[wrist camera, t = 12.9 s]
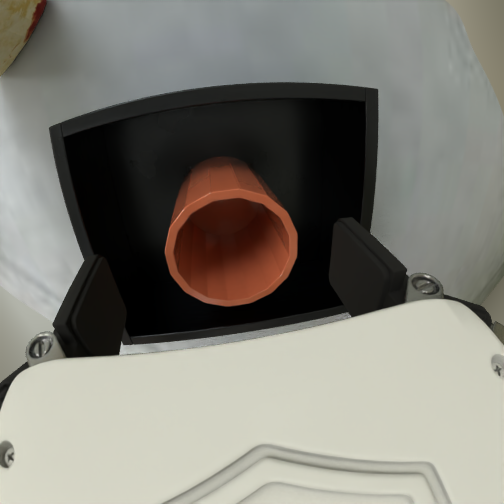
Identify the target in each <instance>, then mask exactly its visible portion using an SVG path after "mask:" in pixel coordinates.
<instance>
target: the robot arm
mask: <svg viewBox="0 0 504 504" xmlns="http://www.w3.org/2000/svg"><path fill="white" fill-rule="evenodd" d="M406 272H407V268H406V267H405V266H404V265H403V264H402V263H401V262H400V261H399V260H398V259H397V258H396V257H395V256H394V255H393V254H391V253H390V252H389V251H388V250H387V249H386V248H385V247H384V246H383V245H382V244H381V243H380V242H379V241H378V240H377V239H376V238H375V237H373V236H372V235H371V234H370V233H369V232H368V231H367V230H366V229H365V228H364V227H362V226H361V225H360V224H359V223H358V222H357V221H356V220H355V219H353V218H352V217H349V218H340V219H338V221H337V222H336V223H334V226H333V238H332V249H331V259H330V269H329V281H330V284H331V286H332V287H333V289H334V290H335V292H336V293H337V295H338V296H339V298H340V300H341V301H342V303H343V304H344V306H345V307H346V309H347V311H348V312H349V314H350V315H351V318H347V319H343V320H339V321H335V322H331V323H327V324H323V325H318V326H314V327H309V328H305V329H300V330H296V331H291V332H286V333H281V334H276V335H271V336H266V337H261V338H255V339H249V340H244V341H238V342H231V343H225V344H218V345H211V346H204V347H197V348H189V349H180V350H171V351H161V352H151V353H140V354H128V355H119V352H120V346H121V341H122V336H123V332H124V327H125V322H126V318H127V310H126V307H125V304H124V302H123V300H122V297H121V295H120V293H119V290H118V288H117V285H116V283H115V280H114V278H113V275H112V272H111V270H110V267H109V265H108V262H107V259H106V258H105V257H102V256H101V255H100V254H98V255H92V256H87V257H86V259H85V261H84V262H83V264H82V266H81V268H80V270H79V271H78V273H77V275H76V277H75V279H74V281H73V283H72V285H71V287H70V289H69V290H68V292H67V294H66V296H65V299H64V301H63V303H62V305H61V307H60V309H59V311H58V313H57V315H56V318H55V320H54V322H53V327H54V328H55V330H54V332H53V333H52V332H42V333H40V334H37V335H36V336H35V337H34V338H32V339H31V341H30V342H29V344H28V345H27V347H26V358H27V362H26V363H25V364H23V365H22V366H21V367H20V368H18V369H17V370H16V371H14V372H13V373H12V374H11V375H9V376H8V377H7V378H6V379H4V380H3V381H2V382H1V383H0V504H504V326H503V325H501V324H500V323H498V322H496V321H495V322H494V324H493V323H492V320H491V316H490V315H489V313H488V312H487V311H486V309H485V308H484V307H482V306H480V305H477V304H474V303H470V302H467V301H464V300H461V299H457V298H454V297H451V296H448V295H444V293H443V286H442V284H441V283H440V281H439V280H437V279H436V278H435V277H433V276H431V275H429V274H426V273H415V274H412V275H411V276H410V277H408V276H407V275H406Z"/></svg>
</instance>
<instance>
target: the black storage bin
mask: <svg viewBox="0 0 504 504" xmlns="http://www.w3.org/2000/svg"><path fill="white" fill-rule="evenodd" d="M49 131H50V137H51V143H52V149H53V154H54V159H55V163H56V168H57V172H58V177H59V181H60V185H61V189H62V193H63V196H64V200H65V203H66V207H67V210H68V214H69V217H70V220H71V223H72V226H73V229H74V232H75V235H76V238H77V241H78V244H79V247H80V250H81V252H82V255H83V258H84V260H85V259H86V257H87V256H92V255H98V254H100V255H101V256H102V257H105V258H106V259H107V262H108V265H109V267H110V270H111V272H112V275H113V278H114V280H115V283H116V285H117V288H118V290H119V293H120V295H121V297H122V300H123V302H124V304H125V307H126V310H127V318H126V322H125V327H124V332H123V336H122V343H123V345H133V344H135V345H136V344H150V343H161V342H172V341H182V340H191V339H199V338H208V337H215V336H223V335H230V334H237V333H243V332H250V331H256V330H262V329H268V328H274V327H279V326H285V325H290V324H295V323H300V322H305V321H310V320H315V319H320V318H325V317H329V316H334V315H338V314H342V313H346V312H348V311H347V309H346V307H345V306H344V304H343V303H342V301H341V300H340V298H339V296H338V295H337V293H336V292H335V290H334V289H333V287H332V286H331V284H330V281H329V269H330V259H331V249H332V238H333V226H334V223H336V222H337V221H338V219H340V218H349V217H352V218H353V219H355V220H356V221H357V222H358V223H359V224H360V225H361V226H362V227H364V228H365V229H366V230H367V231H368V232H369V233H370V229H371V221H372V213H373V204H374V194H375V182H376V168H377V150H378V89H374V88H366V87H358V86H349V85H337V84H323V83H295V82H277V83H248V84H234V85H222V86H212V87H204V88H196V89H189V90H183V91H177V92H171V93H165V94H160V95H155V96H150V97H146V98H141V99H137V100H132V101H128V102H124V103H121V104H117V105H113V106H110V107H106V108H103V109H99V110H96V111H93V112H90V113H87V114H84V115H81V116H78V117H75V118H72V119H69V120H66V121H64V122H62V123H59V124H56V125H53V126H51V127H50V128H49ZM216 156H230V157H235V158H238V159H240V160H242V161H244V162H246V163H247V164H249V165H250V166H251V167H252V168H253V169H254V170H255V171H257V172H258V173H259V175H260V176H261V177H262V179H263V180H264V181H265V183H266V184H267V185H268V187H269V188H270V189H271V191H272V192H273V193H274V195H275V196H276V197H277V199H278V200H279V201H280V203H281V204H282V205H283V207H284V208H285V210H286V211H287V212H288V214H289V216H290V218H291V220H292V223H293V225H294V227H295V229H296V231H297V234H298V244H297V258H296V260H295V263H294V265H293V267H292V269H291V271H290V274H289V276H288V277H287V278H286V279H285V280H284V281H283V282H282V283H281V284H280V285H279V286H278V287H277V288H276V289H275V290H274V291H273V292H272V293H271V294H269V295H267V296H264V297H262V298H260V299H258V300H256V301H254V302H252V303H249V304H242V305H235V306H221V305H214V304H209V303H204V302H202V301H200V300H199V299H197V298H195V297H193V296H191V295H189V294H188V293H186V292H185V291H184V290H183V289H182V288H181V287H180V286H179V284H178V283H177V282H176V281H175V279H174V278H173V277H172V276H171V274H170V271H169V267H168V264H167V260H166V256H165V247H166V242H167V237H168V232H169V227H170V224H171V220H172V216H173V212H174V208H175V205H176V201H177V197H178V194H179V190H180V187H181V184H182V181H183V180H184V178H185V176H186V175H187V173H188V172H189V171H190V170H191V169H192V168H193V167H194V166H195V165H197V164H198V163H200V162H201V161H203V160H205V159H208V158H211V157H216Z"/></svg>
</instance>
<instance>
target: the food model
mask: <svg viewBox="0 0 504 504" xmlns="http://www.w3.org/2000/svg"><path fill="white" fill-rule="evenodd" d="M46 2H47V0H0V76H1V75H2V74H3V73H4V72H5V71H6V70H7V68H8V67H9V66H10V65H11V63H12V62H13V61H14V59H15V58H16V57H17V55H18V54H19V52H20V51H21V50H22V48H23V47H24V45H25V44H26V42H27V41H28V39H29V38H30V36H31V34H32V32H33V30H34V29H35V27H36V25H37V23H38V21H39V19H40V17H41V15H42V14H43V11H44V8H45V5H46Z"/></svg>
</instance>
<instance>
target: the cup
mask: <svg viewBox="0 0 504 504" xmlns="http://www.w3.org/2000/svg"><path fill="white" fill-rule="evenodd" d="M297 244H298V234H297V231H296V229H295V227H294V225H293V223H292V220H291V218H290V216H289V214H288V212H287V211H286V210H285V208H284V207H283V205H282V204H281V203H280V201H279V200H278V199H277V197H276V196H275V195H274V193H273V192H272V191H271V189H270V188H269V187H268V185H267V184H266V183H265V181H264V180H263V179H262V177H261V176H260V175H259V173H258V172H257V171H255V170H254V169H253V168H252V167H251V166H250V165H249V164H247V163H246V162H244V161H242V160H240V159H238V158H235V157H230V156H216V157H211V158H208V159H205V160H203V161H201V162H200V163H198V164H197V165H195V166H194V167H193V168H192V169H191V170H190V171H189V172H188V173H187V175H186V176H185V178H184V180H183V181H182V184H181V187H180V190H179V194H178V197H177V201H176V205H175V208H174V212H173V216H172V220H171V224H170V227H169V232H168V237H167V242H166V247H165V256H166V260H167V264H168V267H169V271H170V274H171V276H172V277H173V278H174V279H175V281H176V282H177V283H178V284H179V286H180V287H181V288H182V289H183V290H184V291H185V292H186V293H188V294H189V295H191V296H193V297H195V298H197V299H199V300H200V301H202V302H204V303H209V304H214V305H221V306H235V305H242V304H249V303H252V302H254V301H256V300H258V299H260V298H262V297H264V296H267V295H269V294H271V293H272V292H273V291H274V290H275V289H276V288H277V287H278V286H279V285H280V284H281V283H282V282H283V281H284V280H285V279H286V278H287V277H288V276H289V274H290V271H291V269H292V267H293V265H294V263H295V260H296V258H297Z"/></svg>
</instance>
